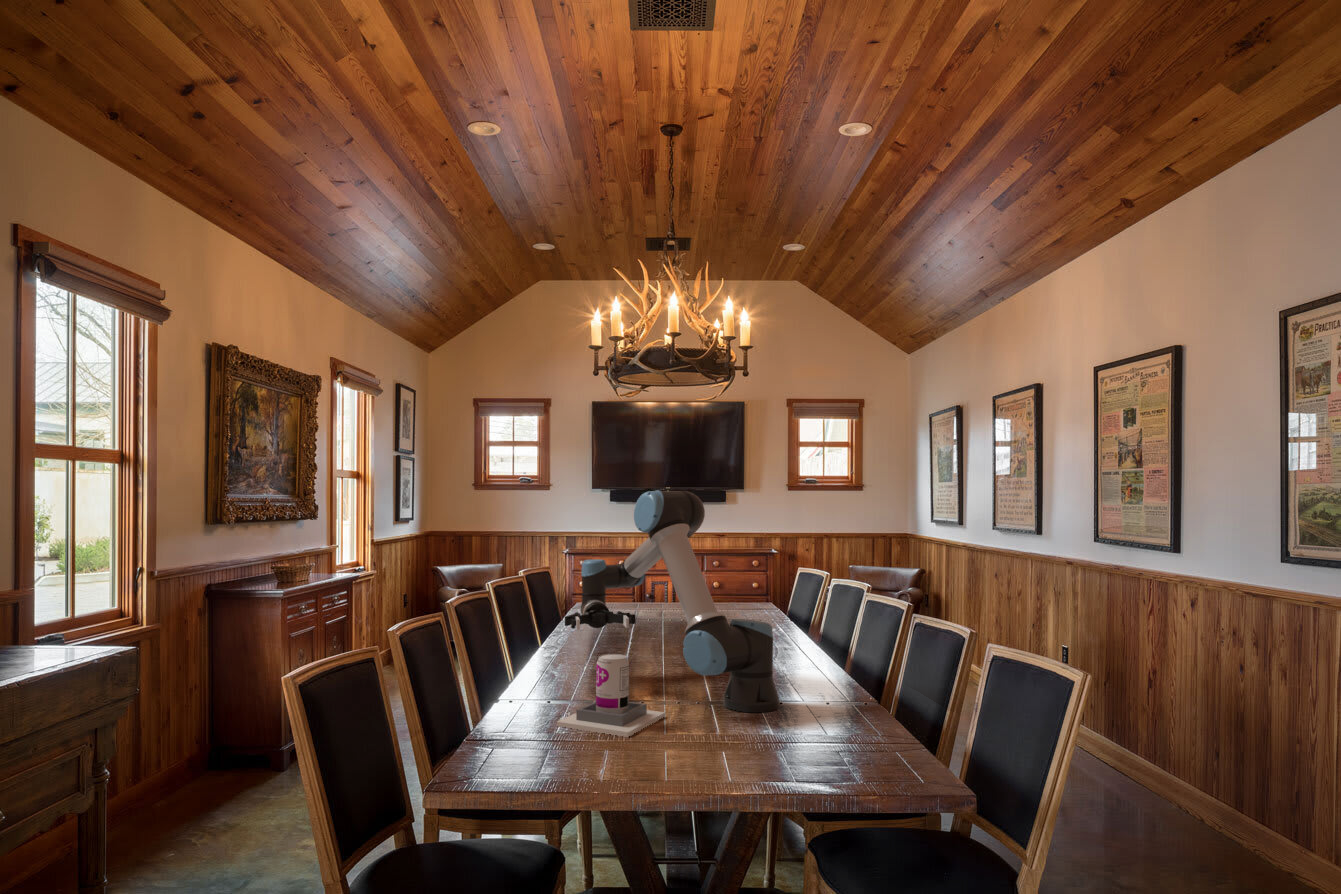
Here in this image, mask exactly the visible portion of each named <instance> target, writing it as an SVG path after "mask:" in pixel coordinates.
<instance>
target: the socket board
mask: <svg viewBox="0 0 1341 894" xmlns="http://www.w3.org/2000/svg"><path fill="white" fill-rule="evenodd" d="M647 707H648V704H647V703H644V702H643V703H642V702H633V701H629V703H628V711H627V712H625V713H623V714H621V715H619V714H612V713H605V712H598V711H596V700H595V701H594V702H591V703H588V704H586V705H584V706H582V707H580V708H577V709H576V712H575V713H573V714H570V715H568V716H566V717H564V718H562V719H560V720H558V721H556V727H557V726H558V728H563V727H566V728H565V729H570V728H572V729H571V730H576V729H578V731H584V732H589V731H590V733H591V732H592V733H596V732H597V733H596V734H602V733H605V734H604V735H609V734H611V735H610V736H615V735H617V737H622V736H623V737H622V738H629V736H630V737H631V736H633V735H635V734H636V732H637V733H639V732H640V731H642V730H644V729H646V728H648V727H650V726H651V725H653V724H655V723H657V722H659V721H660V720H659V719H661V718H662V719H664V718H665V717H666V712H665V711H656V710H652V709H651V710H649V709H648V708H647ZM663 717H664V718H663ZM662 719H661V720H662ZM658 720H659V721H658ZM656 721H657V722H656ZM654 722H655V723H654ZM652 723H653V724H652ZM650 724H651V725H650ZM649 725H650V726H649ZM647 726H648V727H647ZM645 727H646V728H645ZM643 728H644V729H643ZM641 729H642V730H641ZM638 731H639V732H638ZM634 733H635V734H634Z"/></svg>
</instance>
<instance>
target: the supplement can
mask: <svg viewBox="0 0 1341 894" xmlns="http://www.w3.org/2000/svg"><path fill="white" fill-rule="evenodd" d="M595 678H596V680H595V681H596V683H595V689H596V691H595V701H596V711H598V712H605V713H612V714H619V715H621V714H623V713H625V712H627V711H628V703H629V702H630V701H629V700H630V699H629V698H630V697H629V696H630V695H629V691H630V686H629V683H630V662H629V660H628V656H627V655H625V654H620V653H619V654H618V653H609V654H608V653H607V654H601V655H599V656H598V659H597V661H596V677H595Z"/></svg>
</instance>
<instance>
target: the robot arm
mask: <svg viewBox="0 0 1341 894" xmlns="http://www.w3.org/2000/svg"><path fill="white" fill-rule="evenodd" d="M705 513H706V512H705V505H704V503H703V501H702V500H701V498H699V496H698V495H696V494H695V493H693V492H690V491H687V490H685V491H684V490H679V491H678V490H675V491H674V490H673V491H672V490H668V491H667V490H659V489H658V490H652V491H650V490H649V491H646V492H644V493H641V495H640V496H639V497H638V498H637V500H636V503H635V507H634V509H633V520H634V525H635V526H636V529H637V530H638V531H640V532H642V533H643V534H644V533H645V534H648V537H647V539H645V540H644V541H643V542H642V543H641V544H640V545H639V546H638V547H637V548H636V549H635V550H634V551H633V552H632V553H631V554H630V555H629V556H628V557H627V558H626V559H624V561H622V562H621V563H620V564H607V563H606V562H607V561H606V560H604V559H585V560H583V561H582V565H581V572H580V573H581V604H580V612H577V611H575V612H574V613H573V614H569V615H566V616H564V626H566V627H567V626H570V627H571V629H576V630H578V631H579V630H580V629H581V625H584V624H585V625H587V626H588V627H591V628H593V629H601V628H603V627H605V626H606V625H607V624H608V625H610V624H611V625H612V624H623V625H622V626H624V627H625V628H626V629H629V628H630V625H631V624H632V625H636V623H637V622H636V620H637V619H636V618H637V617H636V614H633V613H630V612H622V611H621V610H619V611H616V612H615V613H614V612H613V611H610V609H609V607H607V605H606V603H607V601H606V600H607V599H606V595H607V590H610V589H611V590H612V589H619V588H622V589H623V588H634V587H638V586H640V585H642V584H643V583H644V580H645V578H646V577H645V576H646V573H647V572H648V571H649V570H650V569H651V568H653V567H654V566H655V565H656V564H657V563H658V562H659V561H660V560H661V559H663V562H664V565H665V567H666V570H667V572H668V575H669V578H670V580H671V583H672V586H673V588H674V590H675V593H676V596H677V599H678V602H679V604H680V606H681V609H682V611H683V615H684V617H685V620H686V623H687V625H686V628H685V630H684V634H685V637H684V640H683V643H682V645H683V646H684V647H683V648H682V652H683V653H682V654H683V658H684V660H685V662H686V663H687V665H688V667H689V668H690V669H691V670H692V671H693V672H694V673H696V674H698V675H700V676H704V677H705V676H718V675H720V674H725V673H729V678H728V682H727V685H726V688H725V691H724V694H723V706H724V707H725V708H727V709H728V710H731V709H732V710H731V711H735V710H736V712H741V711H742V712H743V713H767V712H772V711H775V710H779V708H780V696H779V694H778V690H777V687H776V685H775V681H774V677H773V675H774V673H773V670H774V669H773V668H774V667H773V665H774V664H773V663H774V659H773V658H774V636H773V635H774V634H773V632H774V631H773V626H772V625H771V624H770V623H768V622H766V621H761V620H760V621H759V620H754V619H753V620H752V619H742V618H732V619H731V620H730V623H729V622H728V620H727V617H726V615H725V614H722V613H720V612H718V609H717V607H716V604H715V603H714V602H715V601H714V599H713V598H712V595H711V593H710V589H709V588H708V585H707V582H706V580H705V578H704V575H703V572H702V569H701V567H700V564H699V561H698V560H697V557H696V555H695V552H694V550H693V546H692V545H691V543H690V540H689V538H690V537H692V536H693V535H694V534H695V533H696V532H697V531H699V529H700V528H701V526H702V525H703V523H704V520H705V518H706V517H705V515H706V514H705Z"/></svg>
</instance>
